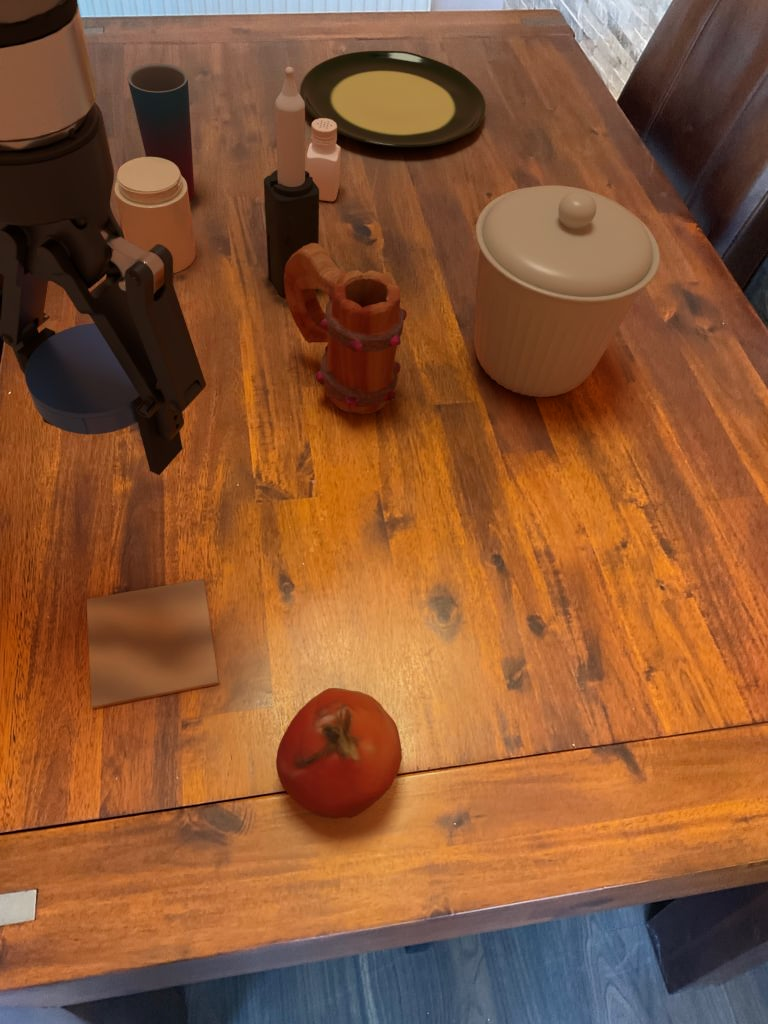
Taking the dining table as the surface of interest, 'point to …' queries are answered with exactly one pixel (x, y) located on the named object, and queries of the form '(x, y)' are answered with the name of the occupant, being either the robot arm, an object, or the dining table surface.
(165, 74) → the cup
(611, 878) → the dining table surface
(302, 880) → the dining table surface
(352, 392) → the mug
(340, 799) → the tomato
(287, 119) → the candle
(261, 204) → the dining table surface
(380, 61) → the plate
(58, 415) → the lid
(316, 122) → the salt shaker
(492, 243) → the canister
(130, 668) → the coaster
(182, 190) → the jar
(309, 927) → the dining table surface
